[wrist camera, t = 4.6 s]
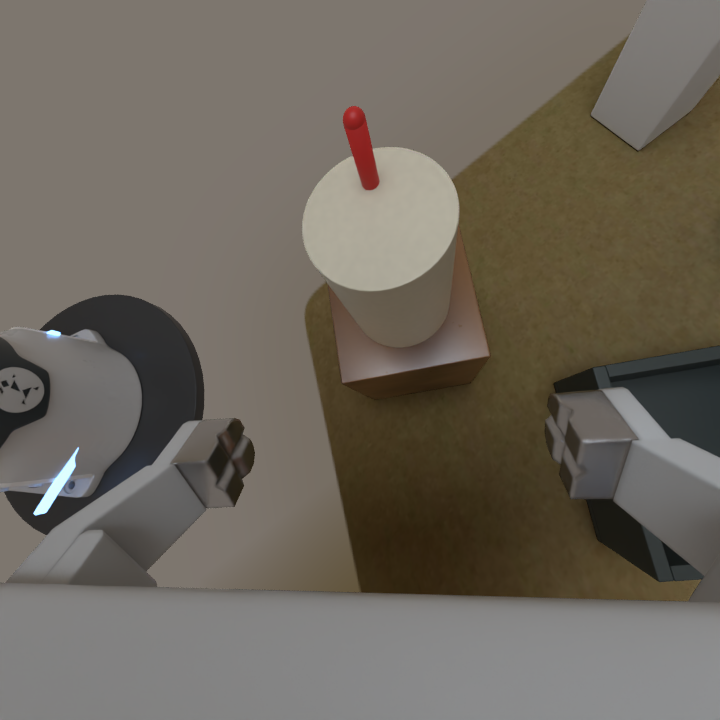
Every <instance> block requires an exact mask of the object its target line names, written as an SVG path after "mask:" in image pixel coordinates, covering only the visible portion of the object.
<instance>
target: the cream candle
mask: <svg viewBox="0 0 720 720" xmlns="http://www.w3.org/2000/svg"><path fill="white" fill-rule="evenodd" d="M343 124H344V128H345V131H346V134H347V137H348V141H349V144H350V148H351V151H352V154H353V156H351V157H349V158H347V159H345V160H344V161H342V162H340V163H339V164H337V165H336V166H335V167H334V168H332V169H331V170H330V171H329V172H328V173H327V174H326V175H325V176H324V177H323V178H322V179H321V180H320V182H319V183H318V184H317V185H316V187H315V189H314V190H313V192H312V194H311V196H310V198H309V200H308V202H307V205H306V208H305V211H304V216H303V223H302V235H303V241H304V246H305V249H306V252H307V254H308V256H309V258H310V259H311V262H312V263H313V264H314V266H315V267H316V269H317V270H318V271H319V273H320V274H321V275H322V277H323V278H324V279H325V281H326V282H327V283H328V285H329V286H330V287H331V289H332V290H333V291H334V293H335V294H336V296H337V297H338V298H339V300H340V301H341V302H342V304H343V305H344V306H345V308H346V309H347V310H348V312H349V313H350V314H351V316H352V317H353V318H354V320H355V321H356V323H357V324H358V325H359V327H360V328H361V329H362V331H363V332H364V333H365V334H366V335H367V336H368V337H369V338H371V339H372V340H374V341H375V342H377V343H379V344H382V345H384V346H388V347H395V348H403V347H410V346H413V345H417V344H419V343H421V342H423V341H425V340H427V339H428V338H430V337H431V336H432V335H433V334H434V333H435V332H437V330H438V329H439V328H440V327H441V325H442V324H443V322H444V320H445V318H446V316H447V313H448V310H449V304H450V295H451V286H452V277H453V268H454V259H455V249H456V240H457V231H458V222H459V201H458V195H457V192H456V189H455V186H454V184H453V182H452V180H451V178H450V177H449V176H448V174H447V173H446V171H445V170H444V169H443V168H442V167H441V166H440V165H439V164H438V163H437V162H435V161H434V160H432V159H431V158H429V157H428V156H426V155H424V154H422V153H419V152H416V151H414V150H410V149H406V148H398V147H383V148H375V149H372V145H371V140H370V136H369V131H368V127H367V122H366V118H365V114H364V112H363V111H362V109H360V108H359V107H356V106H351V107H349V108H348V109H347V110H346V111H345V113H344V116H343Z"/></svg>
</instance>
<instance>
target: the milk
mask: <svg viewBox="0 0 720 720" xmlns="http://www.w3.org/2000/svg"><path fill="white" fill-rule="evenodd" d="M719 76H720V0H647V1H646V3H645V5H644V7H643V9H642V11H641V13H640V15H639V17H638V19H637V21H636V23H635V26H634V27H633V29H632V31H631V33H630V35H629V37H628V39H627V41H626V43H625V46H624V48H623V50H622V52H621V54H620V56H619V58H618V60H617V62H616V64H615V66H614V68H613V70H612V72H611V74H610V76H609V78H608V80H607V82H606V84H605V86H604V88H603V90H602V92H601V94H600V96H599V98H598V100H597V102H596V104H595V107H594V109H593V111H592V113H591V116H592V117H593V118H595V119H596V120H597V121H599V122H600V123H601V124H603V125H604V126H605V127H607V128H608V129H609V130H611V131H612V132H613V133H615V134H616V135H617V136H619V137H620V138H621V139H623V140H624V141H625V142H627V143H628V144H629V145H631V146H632V147H633V148H635V149H636V150H638V151H639V150H641V149H642V148H643V147H645V146H646V145H647V144H648V143H650V142H651V141H652V140H654V139H655V138H656V137H658V136H659V135H660V134H661V133H663V132H664V131H665V130H667V129H668V128H669V127H671V126H672V125H673V124H675V123H676V122H677V121H678V120H680V119H681V118H682V117H684V116H685V115H686V114H688V113H689V112H690V111H691V110H692V109H693V108H694V107H695V106H696V104H697V103H698V102H699V101H700V99H701V98H702V97H703V96H704V94H705V93H706V92H707V91H708V89H709V88H710V87H711V86H712V84H713V83H714V82H715V81H716V79H717V78H718V77H719Z"/></svg>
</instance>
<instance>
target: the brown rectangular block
mask: <svg viewBox="0 0 720 720" xmlns="http://www.w3.org/2000/svg"><path fill="white" fill-rule="evenodd" d="M328 290H329V297H330V304H331V311H332V318H333V326H334V333H335V340H336V347H337V354H338V361H339V369H340V376H341V383H342V384H343V385H345V386H347V387H349V388H351V389H353V390H356V391H358V392H360V393H362V394H364V395H366V396H368V397H370V398H372V399H374V400H377V399H383V398H389V397H395V396H400V395H406V394H412V393H417V392H423V391H429V390H435V389H440V388H446V387H452V386H458V385H463V384H469V383H471V382H472V380H473V379H474V378H475V376H476V375H477V374H478V372H479V371H480V370H481V368H482V367H483V366H484V364H485V363H486V362H487V360H488V359H489V358H490V356H491V354H490V350H489V346H488V342H487V338H486V334H485V330H484V326H483V322H482V317H481V313H480V309H479V305H478V301H477V297H476V293H475V289H474V285H473V281H472V276H471V272H470V268H469V264H468V260H467V256H466V252H465V248H464V244H463V240H462V236H461V231H460V227H459V223H458V231H457V240H456V249H455V259H454V268H453V277H452V286H451V295H450V304H449V310H448V313H447V316H446V318H445V320H444V322H443V324H442V325H441V327H440V328H439V329H438V330H437V332H435V333H434V334H433V335H432V336H431V337H430V338H428V339H427V340H425V341H423V342H421V343H419V344H417V345H413V346H410V347H403V348H395V347H388V346H384V345H382V344H379V343H377V342H375V341H374V340H372V339H371V338H369V337H368V336H367V335H366V334H365V333H364V332H363V331H362V329H361V328H360V327H359V325H358V324H357V323H356V321H355V320H354V318H353V317H352V316H351V314H350V313H349V312H348V310H347V309H346V308H345V306H344V305H343V304H342V302H341V301H340V300H339V298H338V297H337V296H336V294H335V293H334V291H333V290H332V289H331V287H330V286H329V285H328Z"/></svg>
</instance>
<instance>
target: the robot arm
mask: <svg viewBox="0 0 720 720" xmlns="http://www.w3.org/2000/svg"><path fill="white" fill-rule="evenodd" d="M547 407H548V409H549V411H550V413H551V416H550V417H548V418H547V419H546V420H545V438H546V444H547V447H548V450H549V453H550V455H551V457H552V459H553V460H555V461H556V462H558V463H559V464H560V471H559V475H560V477H561V480H562V482H563V484H564V486H565V488H566V490H567V493H568V495H569V497H570V499H613V501H614V502H615V503H616V504H617V505H618V506H620V507H621V508H622V509H623V510H625V511H626V512H627V513H628V514H629V515H631V516H632V517H633V518H634V519H636V520H637V521H638V522H639V523H640V524H642V525H643V526H644V527H645V528H646V529H648V530H649V531H650V532H651V533H653V534H654V535H655V536H656V537H657V538H659V539H660V540H661V541H662V542H664V543H665V544H666V545H667V546H668V547H670V548H671V549H672V550H673V551H674V552H676V553H677V554H678V555H679V556H681V557H682V558H683V559H684V560H685V561H687V562H688V563H689V564H690V565H691V566H693V567H694V568H695V569H696V570H698V571H699V572H700V573H701V574H702V575H704V577H703V579H702V580H701V582H700V583H699V585H698V586H697V588H696V589H695V591H694V592H693V594H692V596H691V597H690V599H689V602H684V601H648V600H612V599H575V598H539V597H503V596H467V595H431V594H395V593H359V592H358V593H357V592H322V591H285V590H284V591H283V590H247V589H244V590H243V589H208V588H169V587H157V583H156V581H155V580H154V579H153V578H152V577H151V576H150V575H149V574H148V573H147V572H146V571H147V570H148V569H149V568H150V567H151V566H152V565H153V564H154V563H155V562H156V561H157V560H158V559H159V558H160V557H161V556H162V555H163V554H164V553H165V552H166V551H167V550H168V549H169V548H170V547H171V545H172V544H173V543H175V541H177V539H178V538H179V537H180V536H181V535H182V534H183V533H184V532H185V531H186V530H187V529H188V528H189V527H190V526H191V525H192V524H193V523H194V522H195V521H196V520H197V519H198V518H199V517H200V516H201V515H202V514H203V513H204V512H205V511H206V508H222V507H235V505H236V502H237V500H238V498H239V496H240V493H241V491H242V489H243V487H244V484H243V480H242V478H244V477H245V476H246V475H247V474H248V473H250V471H251V469H252V466H253V464H254V456H255V452H254V447H253V444H252V442H251V440H250V439H249V438H248V437H246V436H245V435H243V431H244V426H243V425H242V423H241V421H240V420H239V419H235V418H229V419H210V420H198V421H188V422H186V423H184V424H183V425H182V426H181V427H180V429H179V430H178V431H177V433H176V434H175V435H174V437H173V438H172V439H171V441H170V442H169V443H168V445H167V446H166V447H165V449H164V450H163V451H162V452H161V454H160V455H159V456H158V458H157V459H156V460H155V462H154V463H153V464H152V465H150V466H146V467H144V468H143V469H141V470H140V471H138V472H137V473H135V474H134V475H132V476H131V477H129V478H128V479H126V480H125V481H123V482H122V483H120V484H119V485H117V486H116V487H114V488H113V489H111V490H110V491H108V492H107V493H105V494H104V495H102V496H101V497H99V498H98V499H96V500H95V501H93V502H92V503H90V504H89V505H87V506H86V507H84V508H83V509H81V510H80V511H78V512H77V513H75V514H74V515H72V516H71V517H69V518H68V519H67V520H65V521H64V522H62V523H61V524H59V525H58V526H56V527H55V528H53V529H52V530H51V531H50V532H49V534H48V535H47V536H46V537H45V538H44V539H43V541H42V542H41V543H40V544H39V545H38V546H37V547H36V549H35V550H34V551H33V552H32V553H31V554H30V555H29V556H28V557H27V559H26V560H25V561H24V562H23V563H22V564H21V565H20V567H19V568H18V569H17V570H16V571H15V572H14V573H13V575H12V576H11V577H10V578H9V579H8V580H7V582H6V583H0V720H720V457H717V456H715V455H713V454H711V453H709V452H707V451H705V450H703V449H701V448H699V447H697V446H694V445H692V444H690V443H688V442H686V441H684V440H682V439H680V438H674V439H671V438H670V437H669V436H668V435H667V434H666V432H665V431H664V430H663V429H662V428H661V427H660V426H659V424H658V423H657V422H656V421H655V420H654V419H653V418H652V416H651V415H650V414H649V413H648V412H647V411H646V410H645V408H644V407H643V406H642V405H641V404H640V403H639V402H638V400H637V399H636V398H635V397H634V396H633V395H632V394H631V392H630V391H629V390H628V389H626V388H624V387H616V388H605V389H598V390H588V391H576V392H564V393H552V394H550V396H549V398H548V404H547ZM141 408H142V390H141V384H140V380H139V377H138V374H137V372H136V370H135V368H134V366H133V365H132V364H131V362H130V361H129V360H128V359H127V358H126V357H125V356H124V355H122V354H121V353H119V352H118V351H116V350H114V349H112V348H110V347H109V346H108V345H107V344H106V343H105V341H104V339H103V338H102V336H101V335H100V334H99V333H98V332H97V331H94V330H88V329H84V330H81V331H79V332H77V333H75V334H73V335H71V336H67V335H62V334H60V332H57V331H53V330H51V331H48V332H46V331H40V330H35V329H30V328H24V327H12V328H11V329H10V330H6V331H3V332H1V333H0V492H5V491H8V490H9V491H18V492H28V493H37V494H45V496H44V497H43V499H42V501H41V502H40V504H39V505H38V507H37V508H36V510H35V512H34V515H39V514H43V513H46V512H47V511H48V509H49V508H50V506H51V504H52V503H53V501H54V500H55V498H56V497H57V496H65V497H75V498H80V497H88V496H90V495H92V494H93V492H94V491H95V490H96V488H97V486H98V485H99V483H100V481H101V479H102V477H103V475H104V472H105V471H106V470H107V469H108V467H109V466H110V465H111V464H112V463H113V462H114V461H115V460H117V459H118V458H119V456H120V455H121V454H122V453H123V452H124V450H125V449H126V448H127V446H128V445H129V443H130V441H131V440H132V438H133V436H134V433H135V431H136V429H137V426H138V423H139V419H140V415H141Z"/></svg>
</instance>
